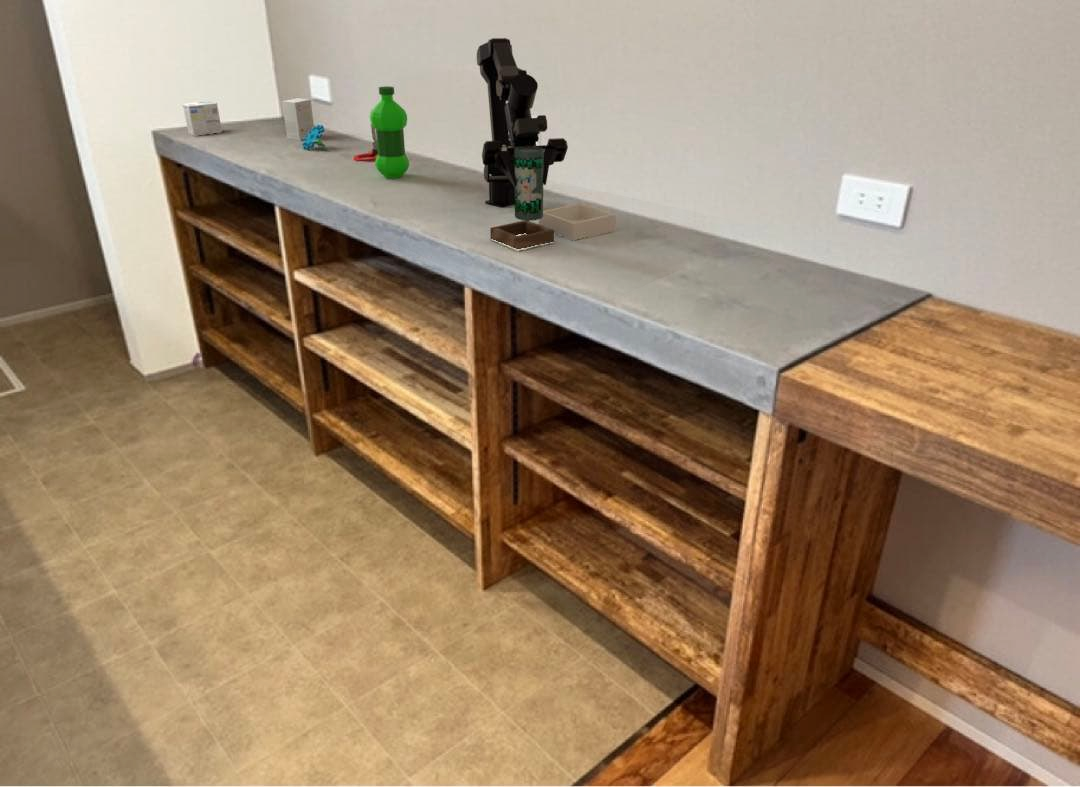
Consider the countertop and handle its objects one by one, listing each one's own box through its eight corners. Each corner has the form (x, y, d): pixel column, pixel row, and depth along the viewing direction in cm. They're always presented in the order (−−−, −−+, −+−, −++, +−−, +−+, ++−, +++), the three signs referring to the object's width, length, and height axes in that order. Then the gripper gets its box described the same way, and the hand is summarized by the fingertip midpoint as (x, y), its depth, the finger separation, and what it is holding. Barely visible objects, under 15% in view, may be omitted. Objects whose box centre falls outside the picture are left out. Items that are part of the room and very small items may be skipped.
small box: (302, 135, 302) (297, 97, 296) (315, 137, 300) (311, 99, 294) (286, 139, 296) (281, 100, 290) (300, 140, 293) (295, 102, 287)
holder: (490, 240, 191) (490, 227, 190) (526, 232, 197) (526, 220, 195) (517, 251, 184) (517, 238, 182) (554, 243, 190) (554, 230, 188)
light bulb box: (216, 130, 310) (211, 100, 305) (223, 133, 305) (217, 102, 300) (187, 134, 304) (181, 103, 299) (193, 136, 299) (188, 105, 294)
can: (512, 219, 187) (511, 151, 179) (520, 211, 192) (519, 145, 185) (538, 221, 185) (538, 153, 178) (545, 214, 190) (546, 147, 183)
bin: (538, 228, 200) (538, 211, 198) (579, 218, 207) (580, 203, 205) (573, 241, 191) (573, 224, 189) (615, 231, 198) (615, 214, 196)
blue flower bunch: (297, 141, 284) (316, 119, 282) (310, 152, 288) (329, 130, 287) (306, 152, 276) (325, 129, 275) (319, 163, 280) (338, 140, 279)
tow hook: (366, 164, 263) (387, 158, 269) (360, 122, 256) (382, 117, 263) (348, 161, 267) (369, 154, 274) (342, 119, 261) (364, 114, 267)
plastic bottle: (377, 172, 251) (369, 85, 239) (412, 172, 251) (406, 84, 240) (373, 180, 242) (365, 90, 230) (409, 180, 243) (403, 89, 231)
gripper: (482, 103, 178) (492, 166, 174) (566, 100, 182) (578, 162, 178) (477, 133, 189) (487, 194, 185) (557, 130, 193) (568, 190, 188)
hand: (530, 184), depth 184 cm, fingers closed on can, 6 cm apart
